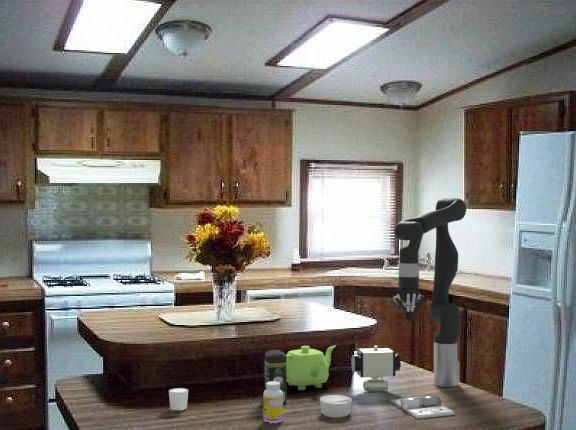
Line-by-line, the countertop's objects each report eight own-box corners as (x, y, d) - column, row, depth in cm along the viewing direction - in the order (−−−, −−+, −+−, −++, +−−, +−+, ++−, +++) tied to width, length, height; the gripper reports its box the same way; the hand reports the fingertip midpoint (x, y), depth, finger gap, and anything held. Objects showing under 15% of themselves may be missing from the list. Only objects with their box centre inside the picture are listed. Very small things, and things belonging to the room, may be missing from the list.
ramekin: (342, 421, 237) (342, 405, 237) (313, 415, 243) (313, 400, 243) (357, 412, 247) (357, 397, 247) (329, 407, 253) (329, 393, 253)
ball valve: (395, 387, 280) (395, 343, 280) (401, 393, 272) (401, 347, 272) (350, 389, 278) (350, 344, 278) (355, 394, 270) (355, 348, 269)
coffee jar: (263, 398, 265) (263, 348, 265) (283, 396, 267) (283, 347, 266) (267, 405, 256) (267, 354, 255) (288, 404, 257) (288, 353, 257)
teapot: (297, 397, 266) (297, 355, 266) (272, 384, 285) (272, 345, 285) (353, 389, 278) (353, 349, 278) (325, 377, 297) (325, 339, 297)
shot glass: (191, 408, 252) (191, 388, 252) (182, 413, 246) (182, 393, 245) (174, 406, 254) (174, 387, 254) (165, 411, 248) (165, 391, 248)
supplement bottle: (262, 418, 240) (262, 380, 240) (282, 417, 240) (282, 380, 240) (263, 424, 233) (263, 385, 233) (283, 423, 234) (283, 385, 234)
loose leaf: (435, 405, 255) (435, 394, 255) (453, 414, 243) (453, 403, 243) (400, 408, 251) (400, 397, 250) (417, 418, 239) (417, 406, 239)
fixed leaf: (425, 399, 263) (425, 388, 263) (442, 408, 251) (442, 397, 251) (390, 402, 258) (390, 392, 258) (405, 412, 247) (405, 400, 247)
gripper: (419, 273, 269) (419, 319, 269) (388, 274, 265) (388, 320, 265) (429, 275, 262) (429, 322, 262) (397, 276, 258) (397, 324, 258)
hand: (408, 321), depth 263 cm, fingers closed
